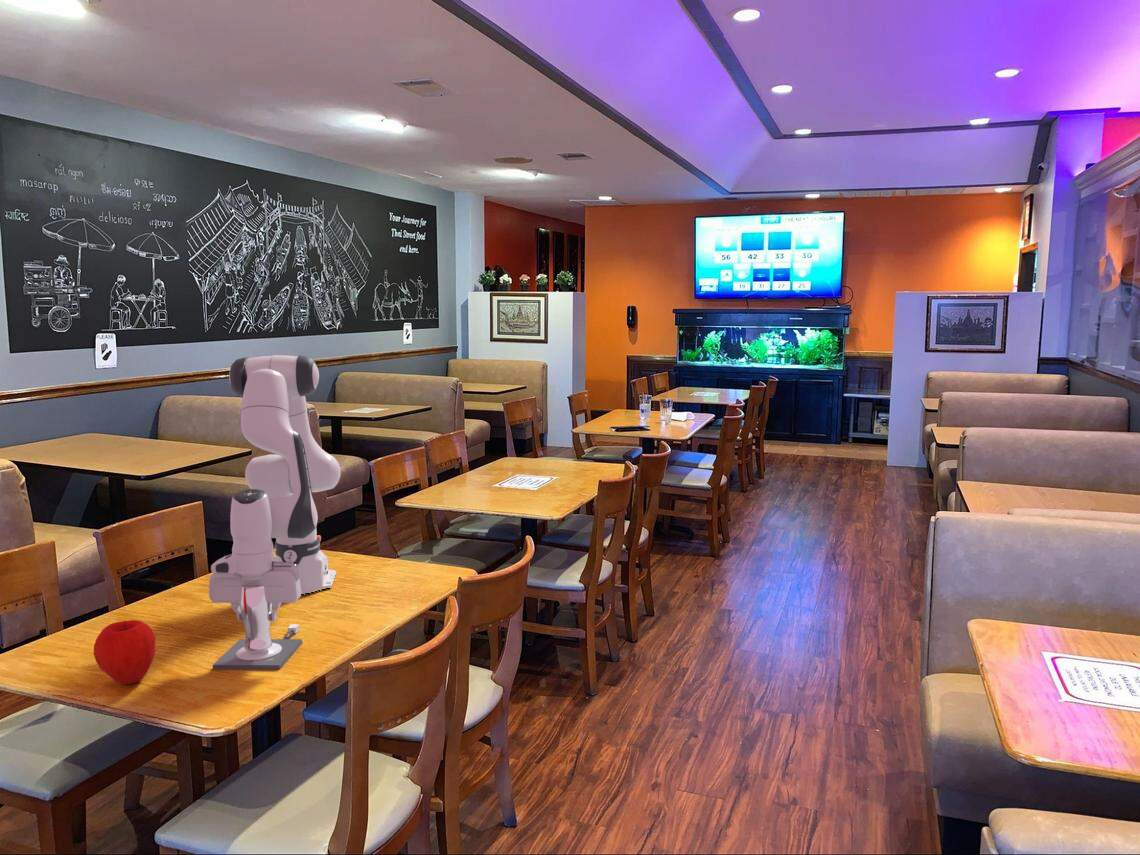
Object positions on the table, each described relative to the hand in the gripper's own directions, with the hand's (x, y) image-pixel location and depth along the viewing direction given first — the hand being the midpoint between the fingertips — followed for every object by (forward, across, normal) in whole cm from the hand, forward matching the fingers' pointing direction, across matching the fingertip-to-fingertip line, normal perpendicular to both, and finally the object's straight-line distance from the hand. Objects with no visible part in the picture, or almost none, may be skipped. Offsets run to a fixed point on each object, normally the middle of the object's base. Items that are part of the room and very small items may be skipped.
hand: (257, 620), depth 195 cm
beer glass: (+6, 0, 0) cm, 6 cm away
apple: (+9, +23, +14) cm, 28 cm away
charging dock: (+9, 0, -4) cm, 9 cm away
